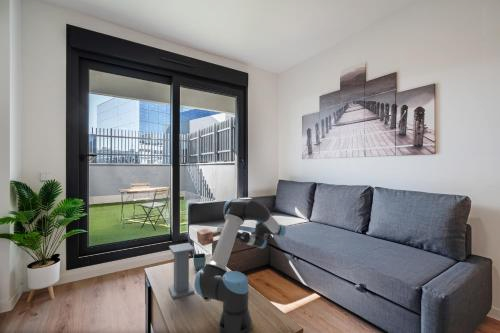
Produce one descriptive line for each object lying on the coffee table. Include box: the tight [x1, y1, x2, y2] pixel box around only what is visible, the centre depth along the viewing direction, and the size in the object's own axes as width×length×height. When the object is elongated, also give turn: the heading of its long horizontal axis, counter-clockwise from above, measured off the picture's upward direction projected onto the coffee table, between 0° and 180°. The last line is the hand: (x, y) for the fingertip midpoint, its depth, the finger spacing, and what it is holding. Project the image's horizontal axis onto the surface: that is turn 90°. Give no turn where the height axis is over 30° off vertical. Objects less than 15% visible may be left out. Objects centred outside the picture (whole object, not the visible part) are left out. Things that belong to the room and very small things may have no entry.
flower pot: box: [192, 252, 207, 271], centre depth 167 cm, size 9×9×9 cm
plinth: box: [168, 242, 195, 300], centre depth 136 cm, size 12×12×26 cm
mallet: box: [196, 227, 221, 247], centre depth 147 cm, size 23×9×7 cm, turn 121°
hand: (218, 228), depth 148 cm, fingers closed on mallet, 2 cm apart
